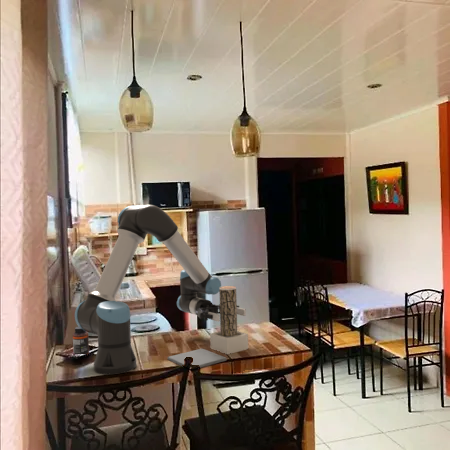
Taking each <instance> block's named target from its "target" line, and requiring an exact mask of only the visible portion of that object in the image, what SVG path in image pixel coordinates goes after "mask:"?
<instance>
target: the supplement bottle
mask: <svg viewBox="0 0 450 450" xmlns="http://www.w3.org/2000/svg"><path fill="white" fill-rule="evenodd" d="M72 347H73V348H72V349H73V354H74V353H75V354H87V356H88V354H89V355H90V342H89V332H86V331H84V330H83V329H81V328H80V327H79V326H75V328H74V333H73V334H72Z"/></svg>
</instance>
